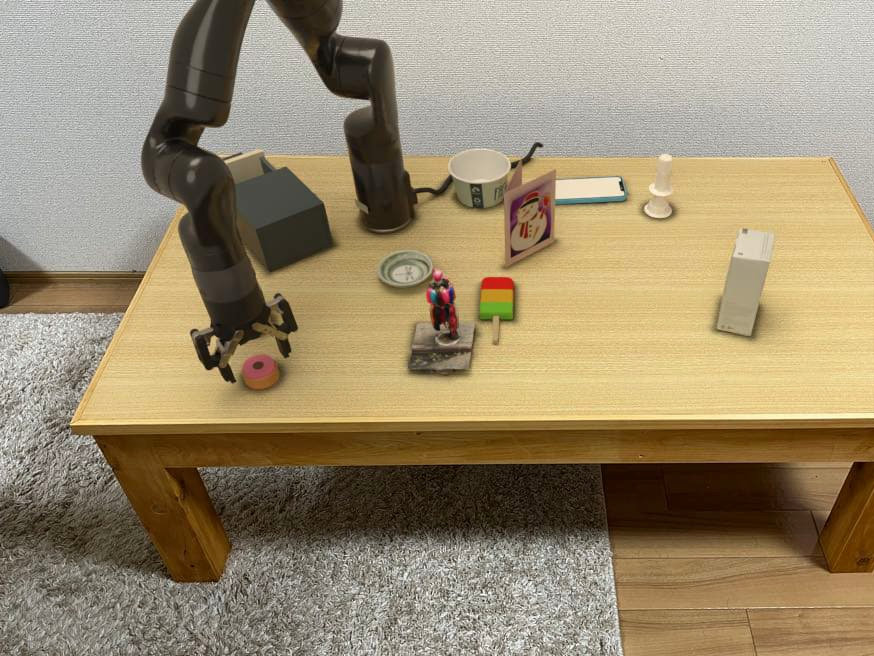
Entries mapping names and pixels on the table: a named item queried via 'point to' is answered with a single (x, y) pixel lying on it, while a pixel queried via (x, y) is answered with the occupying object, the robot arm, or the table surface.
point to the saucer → (405, 268)
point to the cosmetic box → (745, 281)
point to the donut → (260, 371)
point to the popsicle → (496, 301)
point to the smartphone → (590, 190)
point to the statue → (442, 332)
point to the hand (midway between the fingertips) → (258, 367)
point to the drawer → (248, 165)
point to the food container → (479, 176)
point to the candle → (661, 189)
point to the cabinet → (281, 219)
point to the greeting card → (528, 214)
